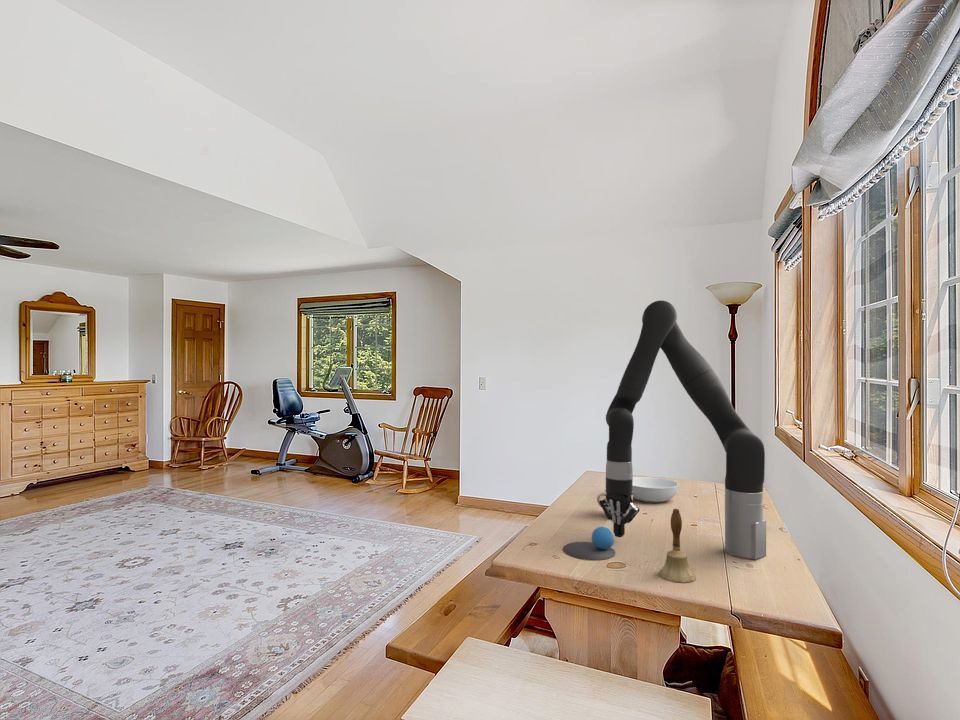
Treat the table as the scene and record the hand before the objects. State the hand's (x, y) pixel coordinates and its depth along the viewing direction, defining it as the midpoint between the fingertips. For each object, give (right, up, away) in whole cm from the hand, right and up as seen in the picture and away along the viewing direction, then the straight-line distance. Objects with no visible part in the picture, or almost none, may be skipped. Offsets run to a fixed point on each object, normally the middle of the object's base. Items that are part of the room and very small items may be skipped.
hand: (618, 536), depth 149 cm
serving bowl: (+25, -3, +49) cm, 55 cm away
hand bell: (+7, -1, -25) cm, 26 cm away
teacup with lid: (+6, -2, +26) cm, 26 cm away
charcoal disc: (-10, -1, -8) cm, 13 cm away
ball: (-6, +2, -6) cm, 9 cm away
